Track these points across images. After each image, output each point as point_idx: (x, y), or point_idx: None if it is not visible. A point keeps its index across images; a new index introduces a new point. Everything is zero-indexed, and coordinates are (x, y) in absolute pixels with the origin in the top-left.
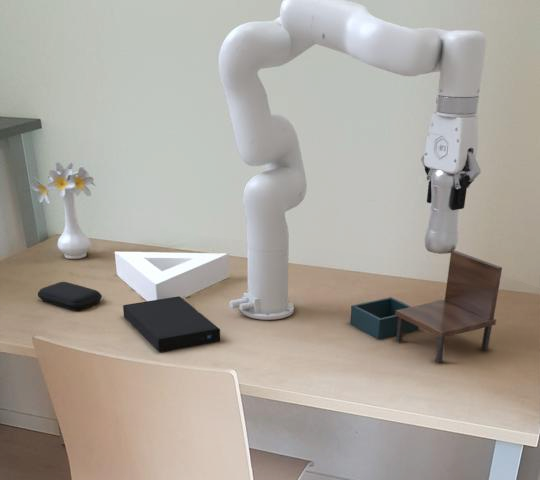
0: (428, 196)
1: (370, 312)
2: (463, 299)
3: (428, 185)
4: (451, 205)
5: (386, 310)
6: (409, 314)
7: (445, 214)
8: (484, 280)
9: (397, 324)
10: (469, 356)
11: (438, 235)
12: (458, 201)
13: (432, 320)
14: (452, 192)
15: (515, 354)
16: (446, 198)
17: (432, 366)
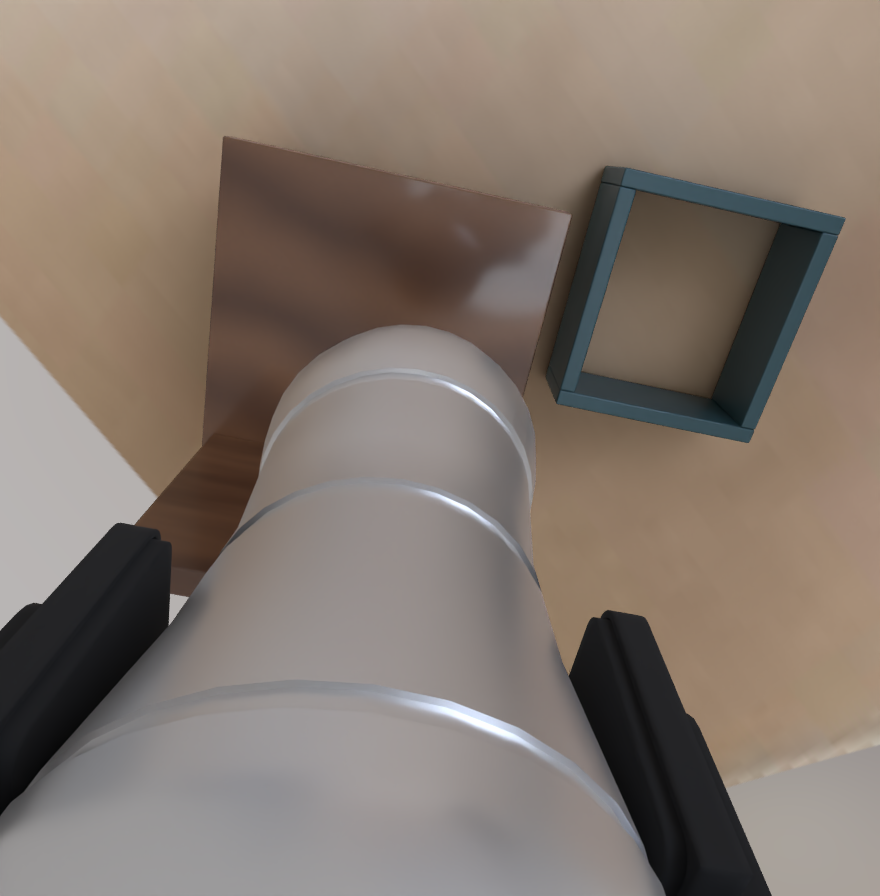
0: (638, 662)
1: (764, 312)
2: None
3: (725, 812)
4: (112, 548)
5: (727, 394)
6: (488, 219)
7: (263, 497)
8: (228, 521)
9: (584, 274)
10: None
11: (334, 371)
12: (4, 632)
13: (362, 238)
14: (17, 692)
15: (170, 441)
16: (191, 604)
17: (269, 105)
